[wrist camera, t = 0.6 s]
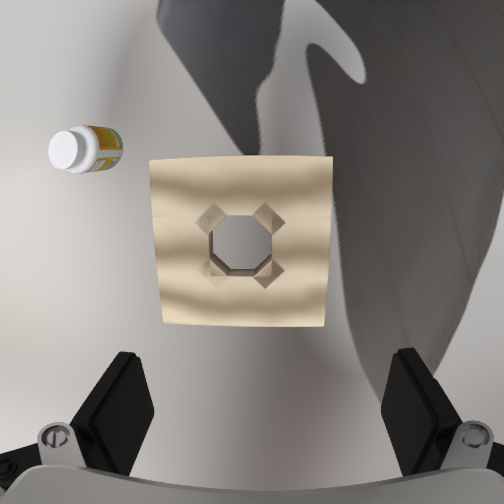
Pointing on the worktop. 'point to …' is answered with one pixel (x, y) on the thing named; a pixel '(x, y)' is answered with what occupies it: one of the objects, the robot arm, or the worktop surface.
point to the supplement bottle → (85, 149)
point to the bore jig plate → (242, 204)
